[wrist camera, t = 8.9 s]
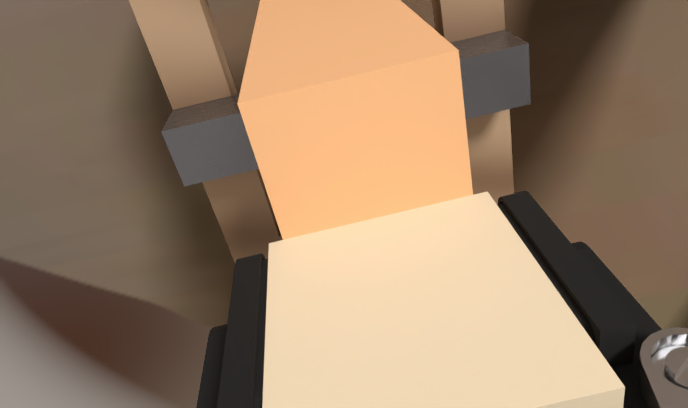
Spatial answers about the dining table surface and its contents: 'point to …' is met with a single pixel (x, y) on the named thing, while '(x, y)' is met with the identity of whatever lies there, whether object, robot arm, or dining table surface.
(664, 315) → the dining table surface
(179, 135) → the long charcoal crossbeam
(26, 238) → the dining table surface
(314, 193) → the orange cream legged block
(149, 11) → the shelf
